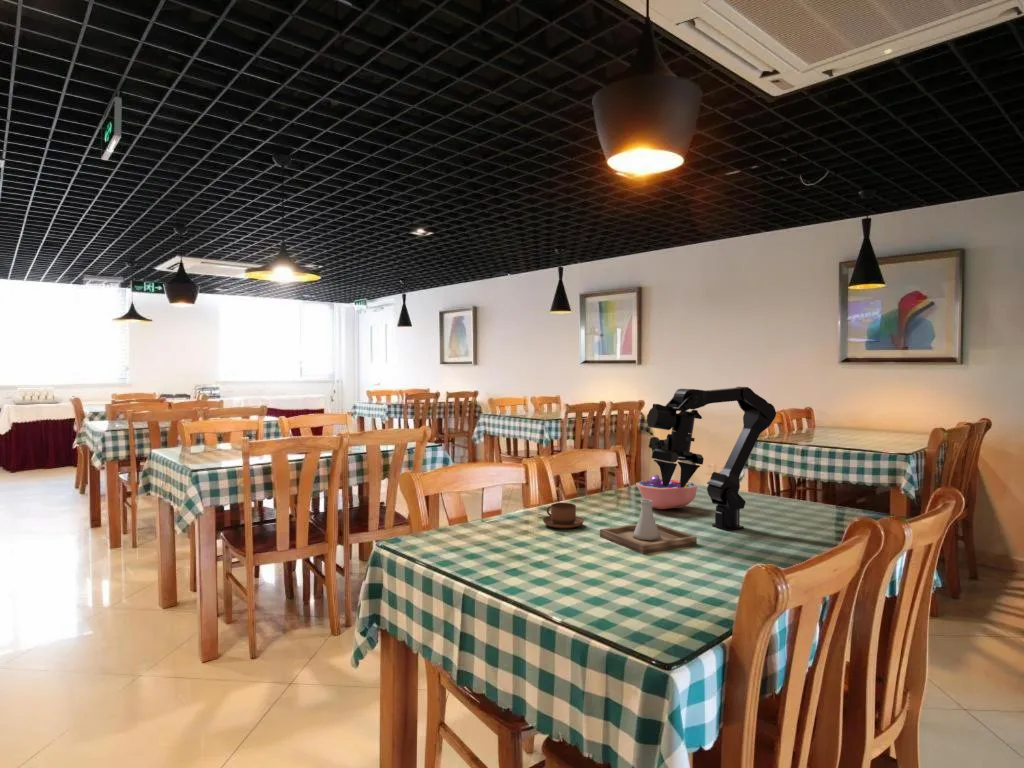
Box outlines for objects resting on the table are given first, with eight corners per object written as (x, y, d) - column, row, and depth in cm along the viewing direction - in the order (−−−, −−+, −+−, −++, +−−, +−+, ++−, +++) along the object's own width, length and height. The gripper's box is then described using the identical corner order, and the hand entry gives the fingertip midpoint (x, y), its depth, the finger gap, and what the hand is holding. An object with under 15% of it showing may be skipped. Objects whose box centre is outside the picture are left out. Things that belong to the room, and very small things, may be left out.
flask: (652, 542, 157) (652, 504, 157) (627, 537, 162) (627, 500, 162) (665, 537, 163) (665, 500, 162) (641, 532, 167) (641, 496, 167)
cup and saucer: (537, 529, 175) (537, 508, 175) (550, 519, 186) (550, 499, 186) (577, 533, 170) (577, 511, 170) (588, 523, 182) (588, 503, 181)
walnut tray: (651, 528, 174) (651, 521, 174) (696, 544, 158) (696, 536, 158) (600, 536, 166) (600, 529, 166) (642, 554, 150) (642, 546, 150)
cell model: (704, 514, 192) (704, 479, 192) (641, 514, 192) (641, 479, 192) (689, 503, 209) (689, 470, 209) (631, 503, 209) (632, 470, 209)
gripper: (674, 430, 184) (666, 481, 183) (639, 425, 171) (631, 480, 170) (707, 436, 175) (699, 489, 175) (674, 431, 163) (665, 488, 162)
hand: (673, 486), depth 171 cm, fingers open, 9 cm apart
